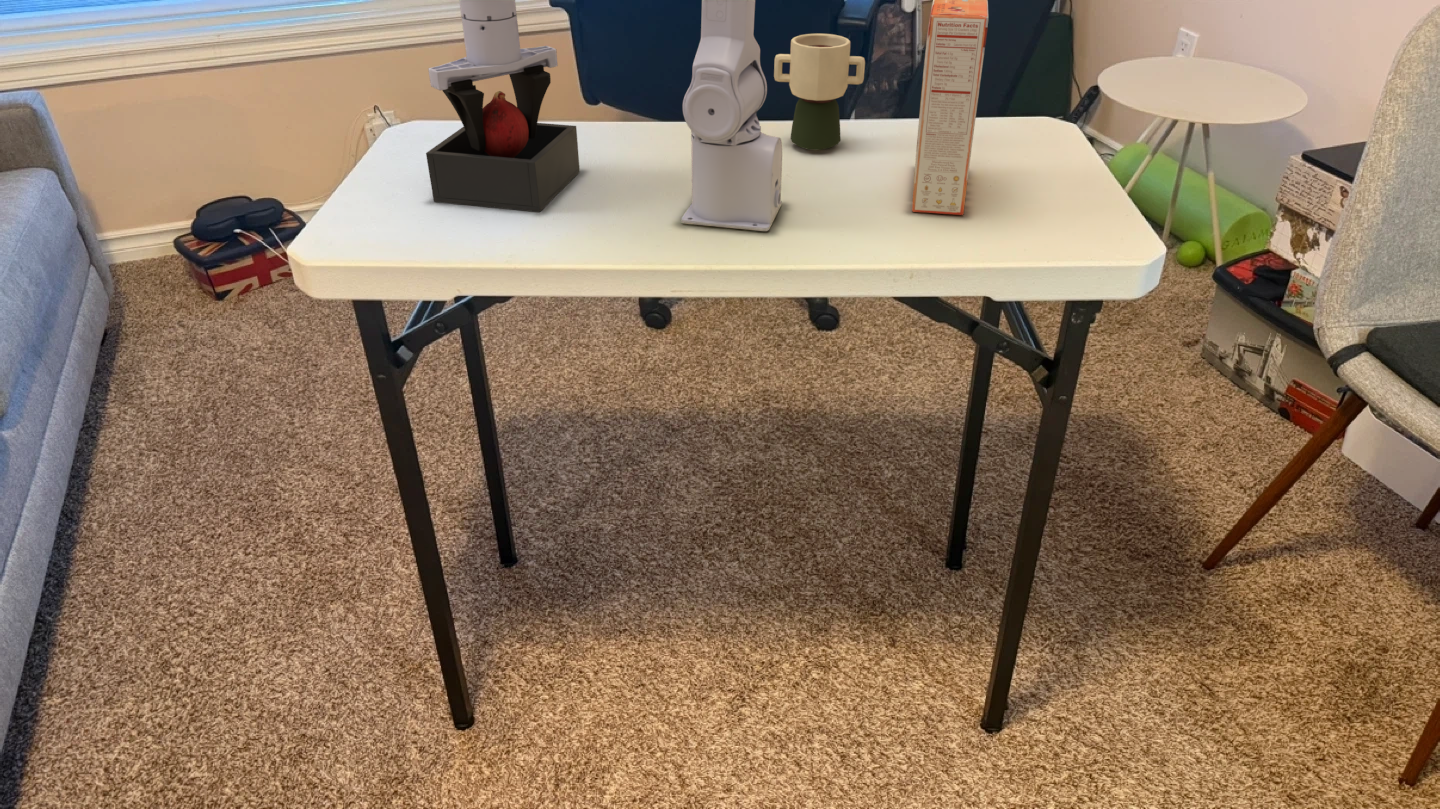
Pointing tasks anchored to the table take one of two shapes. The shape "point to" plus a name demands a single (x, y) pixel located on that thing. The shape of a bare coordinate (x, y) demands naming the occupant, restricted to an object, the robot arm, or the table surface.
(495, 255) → the table surface
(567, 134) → the open storage bin
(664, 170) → the table surface
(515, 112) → the onion
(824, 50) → the beige and green cup
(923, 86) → the cracker box
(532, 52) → the robot arm
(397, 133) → the table surface
